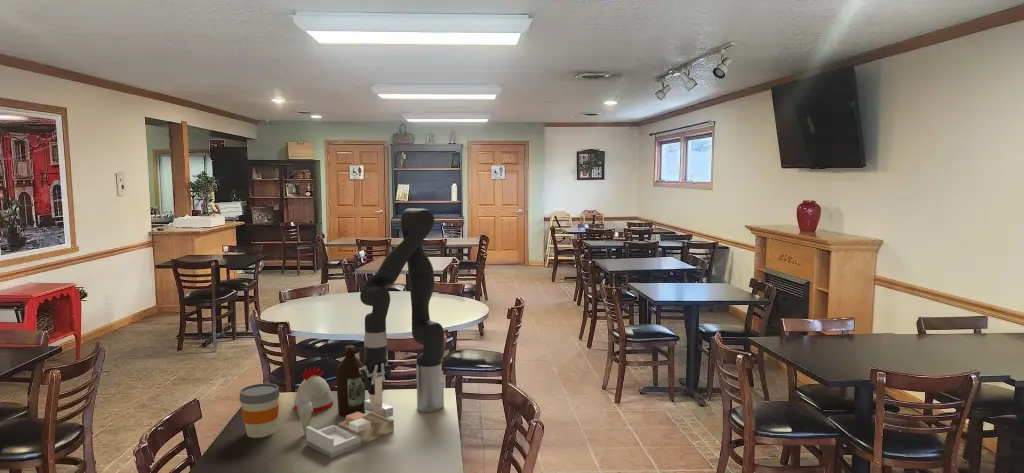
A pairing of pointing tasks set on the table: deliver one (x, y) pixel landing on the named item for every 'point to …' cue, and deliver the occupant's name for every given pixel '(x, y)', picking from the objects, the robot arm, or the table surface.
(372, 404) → the scraper
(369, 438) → the tan flat block
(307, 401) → the ice cream cone
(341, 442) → the box
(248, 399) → the reusable coffee cup
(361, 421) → the offwhite tile
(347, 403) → the brown rum bottle
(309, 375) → the kitchen timer
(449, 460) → the table surface
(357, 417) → the terracotta tile
